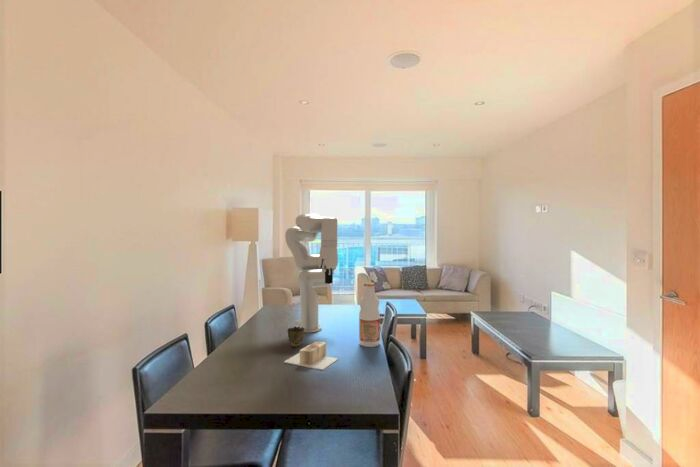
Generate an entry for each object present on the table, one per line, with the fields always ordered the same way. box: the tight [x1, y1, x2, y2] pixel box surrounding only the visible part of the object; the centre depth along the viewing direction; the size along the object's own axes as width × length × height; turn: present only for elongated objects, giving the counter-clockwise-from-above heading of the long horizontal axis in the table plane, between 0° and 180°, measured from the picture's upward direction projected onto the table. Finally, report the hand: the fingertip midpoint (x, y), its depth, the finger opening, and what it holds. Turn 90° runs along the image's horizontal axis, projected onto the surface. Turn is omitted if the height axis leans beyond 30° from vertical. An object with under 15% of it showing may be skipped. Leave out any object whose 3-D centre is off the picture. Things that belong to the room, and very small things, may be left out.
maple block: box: [299, 340, 327, 365], centre depth 138 cm, size 5×5×12 cm
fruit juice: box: [358, 282, 381, 348], centre depth 157 cm, size 9×9×28 cm
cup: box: [287, 326, 305, 348], centre depth 154 cm, size 8×7×8 cm
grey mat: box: [283, 352, 339, 371], centre depth 137 cm, size 18×12×1 cm, turn 64°
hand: (328, 283), depth 159 cm, fingers closed
